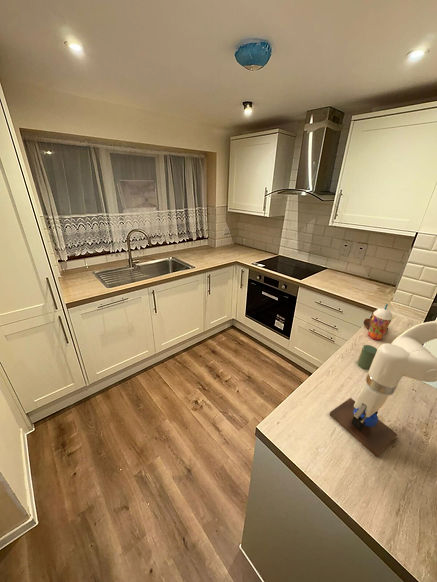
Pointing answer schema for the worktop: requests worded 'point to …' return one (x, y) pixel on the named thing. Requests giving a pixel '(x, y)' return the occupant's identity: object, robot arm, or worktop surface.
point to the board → (364, 429)
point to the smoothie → (379, 323)
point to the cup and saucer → (368, 321)
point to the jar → (366, 357)
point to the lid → (369, 419)
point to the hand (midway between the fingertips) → (363, 421)
